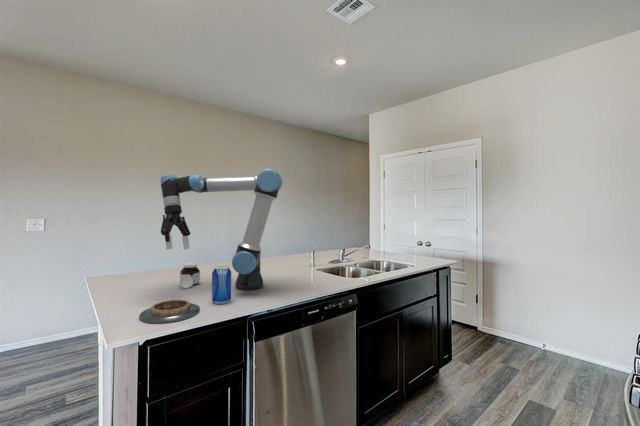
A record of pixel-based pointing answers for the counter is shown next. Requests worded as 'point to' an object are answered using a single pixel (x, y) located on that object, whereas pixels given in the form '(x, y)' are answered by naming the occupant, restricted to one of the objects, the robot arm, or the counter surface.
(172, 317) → the collar plate
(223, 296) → the beer can
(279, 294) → the counter surface
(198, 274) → the spread jar
